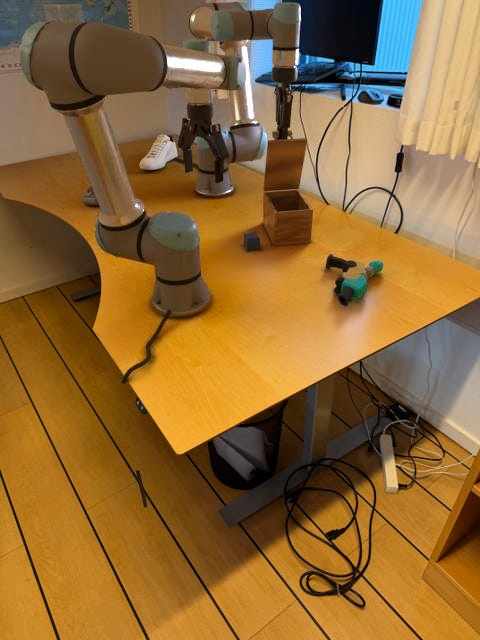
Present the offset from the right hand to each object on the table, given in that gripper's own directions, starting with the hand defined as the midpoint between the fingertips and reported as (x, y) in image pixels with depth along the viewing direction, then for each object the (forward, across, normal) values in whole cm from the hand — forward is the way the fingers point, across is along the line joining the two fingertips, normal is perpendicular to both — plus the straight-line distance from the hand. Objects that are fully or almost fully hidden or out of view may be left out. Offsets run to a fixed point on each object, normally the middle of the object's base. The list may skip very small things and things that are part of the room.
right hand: (281, 148), depth 153 cm
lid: (+4, -5, 0) cm, 7 cm away
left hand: (+5, -7, +26) cm, 28 cm away
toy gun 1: (+25, +28, +60) cm, 71 cm away
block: (+25, -19, +13) cm, 34 cm away
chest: (+25, -10, 0) cm, 27 cm away
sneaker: (+25, +69, +41) cm, 84 cm away
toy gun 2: (+25, -46, -8) cm, 53 cm away
